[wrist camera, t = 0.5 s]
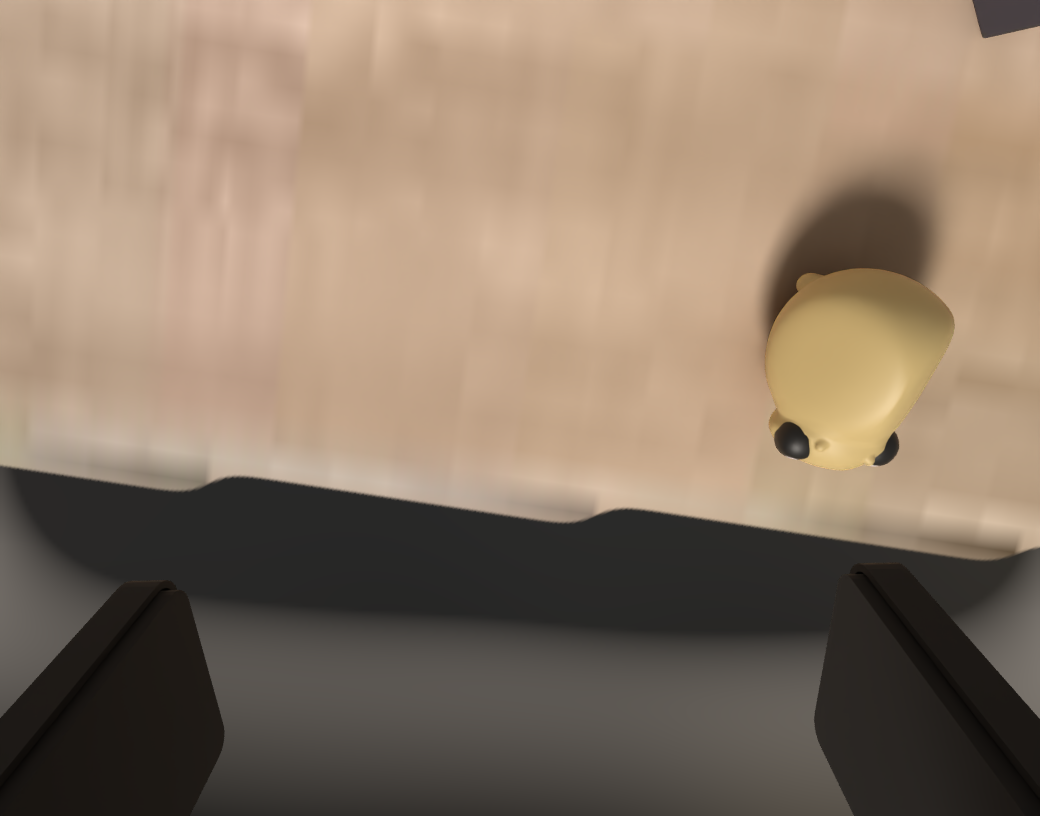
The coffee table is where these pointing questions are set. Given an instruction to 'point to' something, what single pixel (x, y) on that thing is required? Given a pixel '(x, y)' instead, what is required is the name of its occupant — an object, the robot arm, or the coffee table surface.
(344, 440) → the coffee table surface
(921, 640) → the robot arm
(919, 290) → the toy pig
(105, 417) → the coffee table surface
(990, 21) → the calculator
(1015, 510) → the coffee table surface
